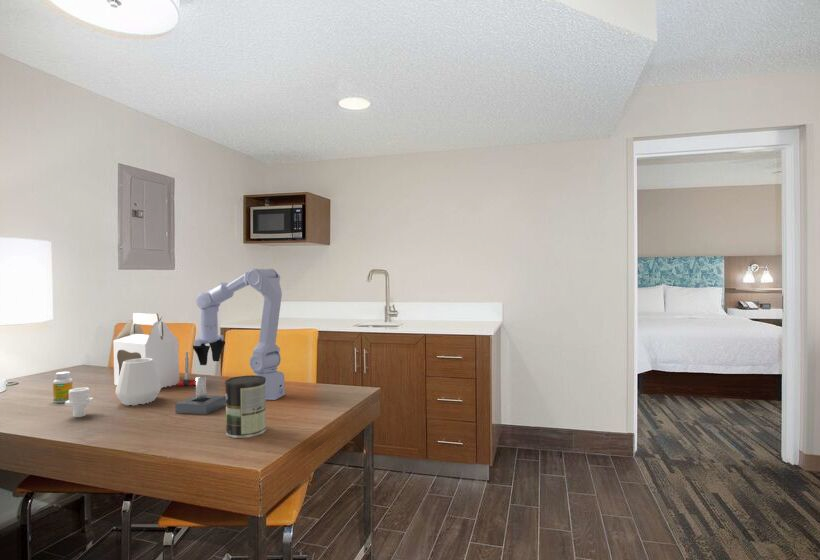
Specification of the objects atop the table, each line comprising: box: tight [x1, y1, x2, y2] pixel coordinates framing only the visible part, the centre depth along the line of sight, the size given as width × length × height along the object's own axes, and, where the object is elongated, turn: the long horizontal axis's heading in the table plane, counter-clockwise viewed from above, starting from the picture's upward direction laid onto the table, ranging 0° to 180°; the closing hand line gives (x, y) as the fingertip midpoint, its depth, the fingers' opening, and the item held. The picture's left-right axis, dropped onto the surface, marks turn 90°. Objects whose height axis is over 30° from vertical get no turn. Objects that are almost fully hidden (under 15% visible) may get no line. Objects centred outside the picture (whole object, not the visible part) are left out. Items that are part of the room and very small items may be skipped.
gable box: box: [112, 312, 180, 389], centre depth 187 cm, size 22×13×28 cm, turn 59°
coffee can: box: [224, 374, 267, 439], centre depth 128 cm, size 10×10×14 cm
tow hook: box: [176, 352, 196, 387], centre depth 188 cm, size 8×13×9 cm
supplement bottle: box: [52, 371, 74, 404], centre depth 163 cm, size 5×5×10 cm
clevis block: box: [174, 394, 226, 415], centre depth 151 cm, size 10×10×3 cm
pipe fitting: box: [64, 387, 94, 418], centre depth 145 cm, size 6×7×8 cm
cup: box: [115, 358, 162, 406], centre depth 161 cm, size 13×13×14 cm
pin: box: [195, 376, 207, 402], centre depth 151 cm, size 3×3×10 cm
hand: (209, 363), depth 173 cm, fingers open, 7 cm apart
